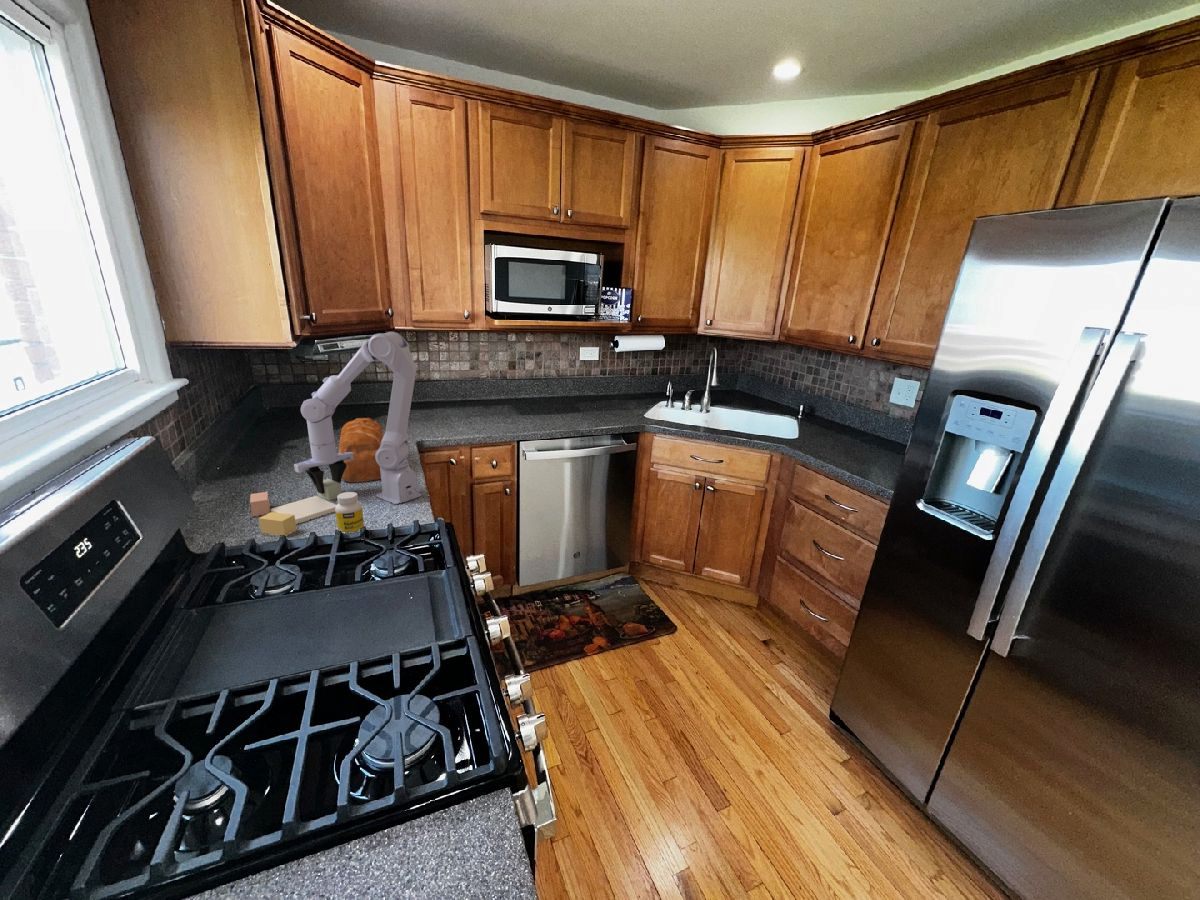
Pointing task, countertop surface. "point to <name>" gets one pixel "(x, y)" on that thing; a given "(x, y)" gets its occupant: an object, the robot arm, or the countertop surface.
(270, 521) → the mustard brick
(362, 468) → the bread
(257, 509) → the clay brick
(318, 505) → the board
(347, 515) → the supplement bottle
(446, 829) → the countertop surface
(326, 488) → the sage brick
